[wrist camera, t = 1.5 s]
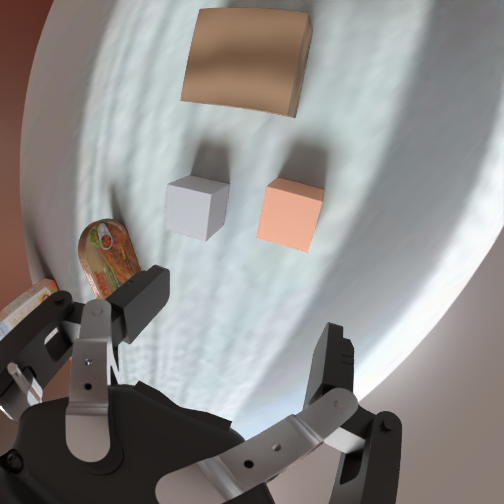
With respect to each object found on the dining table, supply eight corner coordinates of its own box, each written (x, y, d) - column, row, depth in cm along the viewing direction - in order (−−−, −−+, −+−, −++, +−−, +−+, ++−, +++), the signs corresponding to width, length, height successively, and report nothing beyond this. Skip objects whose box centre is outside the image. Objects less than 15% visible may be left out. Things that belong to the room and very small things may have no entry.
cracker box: (44, 276, 52) (-15, 322, 34) (55, 279, 50) (-9, 328, 32) (65, 323, 57) (15, 370, 39) (77, 328, 55) (25, 379, 37)
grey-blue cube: (190, 175, 30) (166, 184, 26) (230, 183, 29) (211, 194, 25) (186, 214, 33) (164, 228, 28) (223, 224, 32) (205, 241, 27)
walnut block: (220, 23, 21) (199, 9, 17) (312, 31, 20) (307, 13, 15) (203, 103, 26) (180, 100, 22) (295, 117, 24) (287, 115, 20)
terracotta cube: (277, 177, 28) (266, 186, 23) (324, 189, 27) (322, 201, 22) (268, 220, 30) (256, 237, 26) (312, 233, 29) (307, 252, 25)
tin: (152, 300, 41) (122, 332, 34) (138, 299, 42) (108, 329, 35) (121, 209, 35) (79, 231, 28) (108, 212, 36) (67, 234, 29)
